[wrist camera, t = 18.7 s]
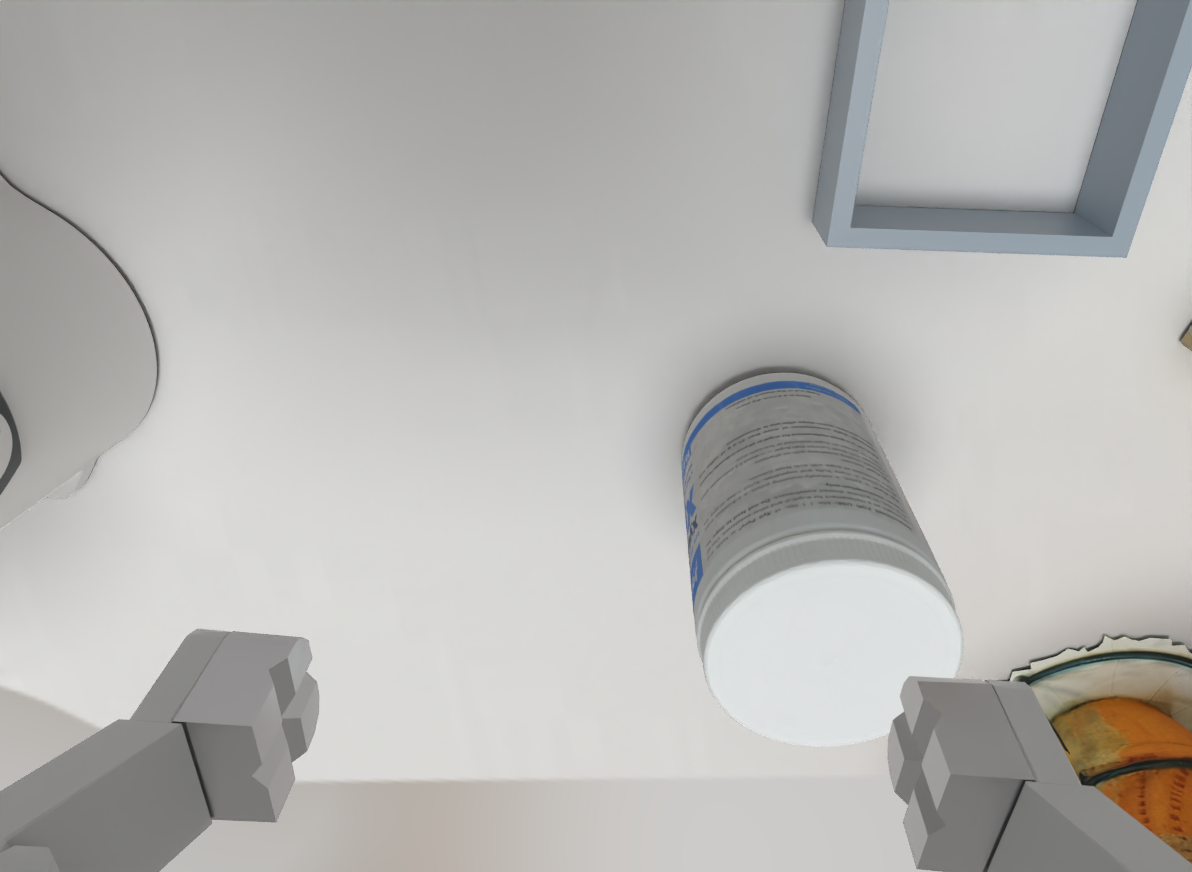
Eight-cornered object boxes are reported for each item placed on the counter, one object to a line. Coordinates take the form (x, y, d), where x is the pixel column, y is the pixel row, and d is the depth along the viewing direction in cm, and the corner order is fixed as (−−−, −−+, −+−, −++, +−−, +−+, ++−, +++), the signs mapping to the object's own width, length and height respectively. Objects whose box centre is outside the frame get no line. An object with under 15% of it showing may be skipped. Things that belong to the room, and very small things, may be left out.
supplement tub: (643, 436, 43) (640, 641, 30) (802, 326, 40) (874, 505, 27) (753, 556, 47) (793, 786, 34) (909, 465, 43) (1018, 682, 30)
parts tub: (812, 222, 37) (826, 246, 34) (868, -155, 31) (892, -166, 27) (1087, 231, 37) (1126, 257, 34) (1205, -148, 30) (1268, -159, 27)
